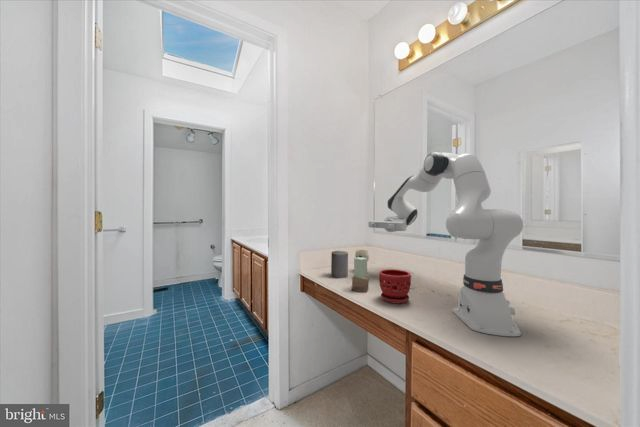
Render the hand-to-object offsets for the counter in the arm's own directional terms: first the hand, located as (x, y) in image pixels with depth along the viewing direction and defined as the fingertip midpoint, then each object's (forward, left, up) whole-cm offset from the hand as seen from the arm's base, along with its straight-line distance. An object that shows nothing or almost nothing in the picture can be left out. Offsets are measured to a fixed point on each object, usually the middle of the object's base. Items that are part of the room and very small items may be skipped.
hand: (379, 225), depth 133 cm
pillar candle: (+6, +23, -30) cm, 38 cm away
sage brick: (-14, +8, -24) cm, 29 cm away
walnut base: (-14, +8, -30) cm, 34 cm away
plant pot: (-24, -8, -30) cm, 39 cm away
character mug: (+19, +12, -30) cm, 37 cm away
